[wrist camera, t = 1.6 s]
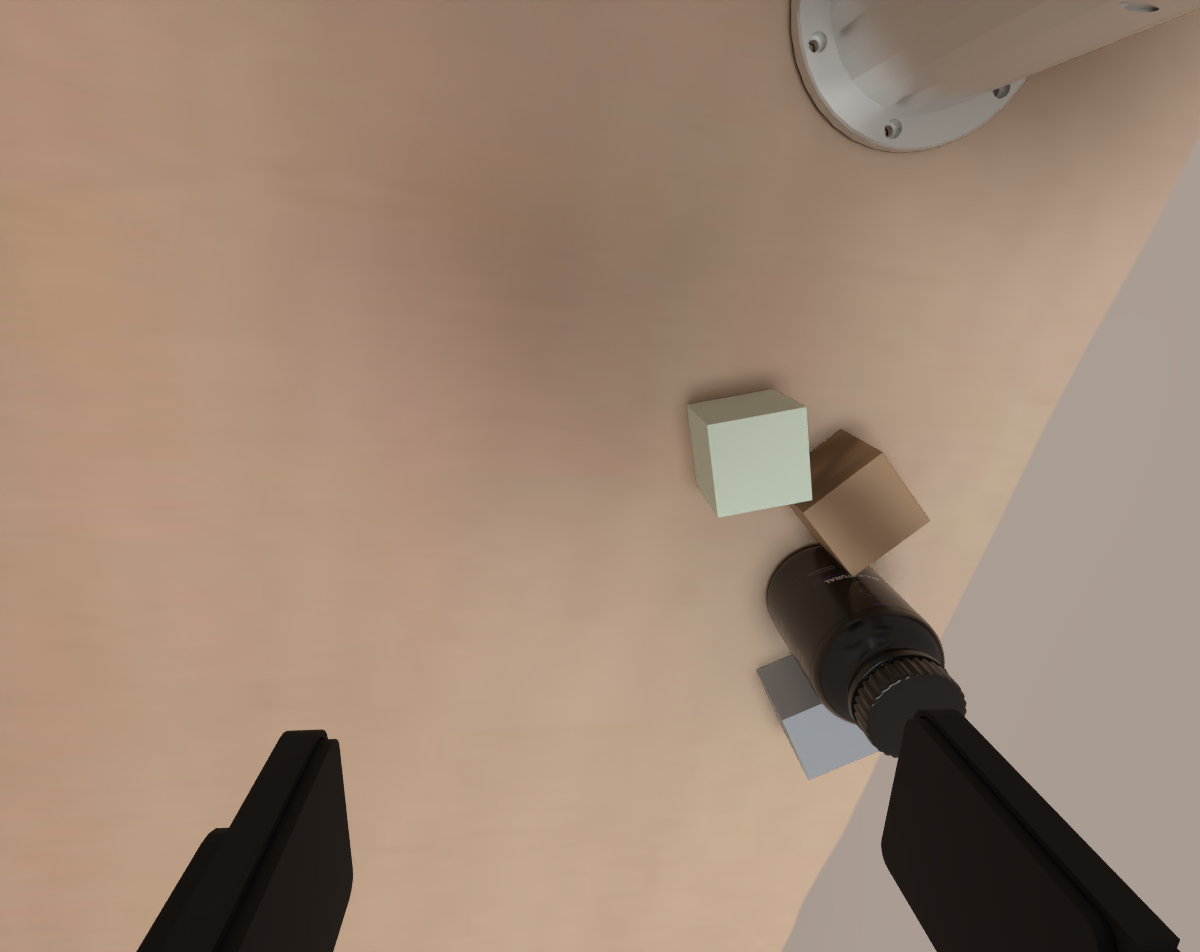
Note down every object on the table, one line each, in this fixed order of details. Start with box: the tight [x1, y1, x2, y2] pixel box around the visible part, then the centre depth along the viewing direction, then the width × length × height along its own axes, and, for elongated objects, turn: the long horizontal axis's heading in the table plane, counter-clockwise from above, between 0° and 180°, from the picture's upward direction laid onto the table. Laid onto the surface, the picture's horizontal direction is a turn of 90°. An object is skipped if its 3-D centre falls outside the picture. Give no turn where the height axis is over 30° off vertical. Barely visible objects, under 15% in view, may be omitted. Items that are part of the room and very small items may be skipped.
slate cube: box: [757, 655, 878, 780], centre depth 40 cm, size 5×5×5 cm
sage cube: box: [687, 389, 812, 518], centre depth 34 cm, size 5×5×5 cm
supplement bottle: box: [767, 546, 966, 758], centre depth 35 cm, size 7×7×12 cm
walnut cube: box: [789, 429, 930, 577], centre depth 36 cm, size 5×5×5 cm
